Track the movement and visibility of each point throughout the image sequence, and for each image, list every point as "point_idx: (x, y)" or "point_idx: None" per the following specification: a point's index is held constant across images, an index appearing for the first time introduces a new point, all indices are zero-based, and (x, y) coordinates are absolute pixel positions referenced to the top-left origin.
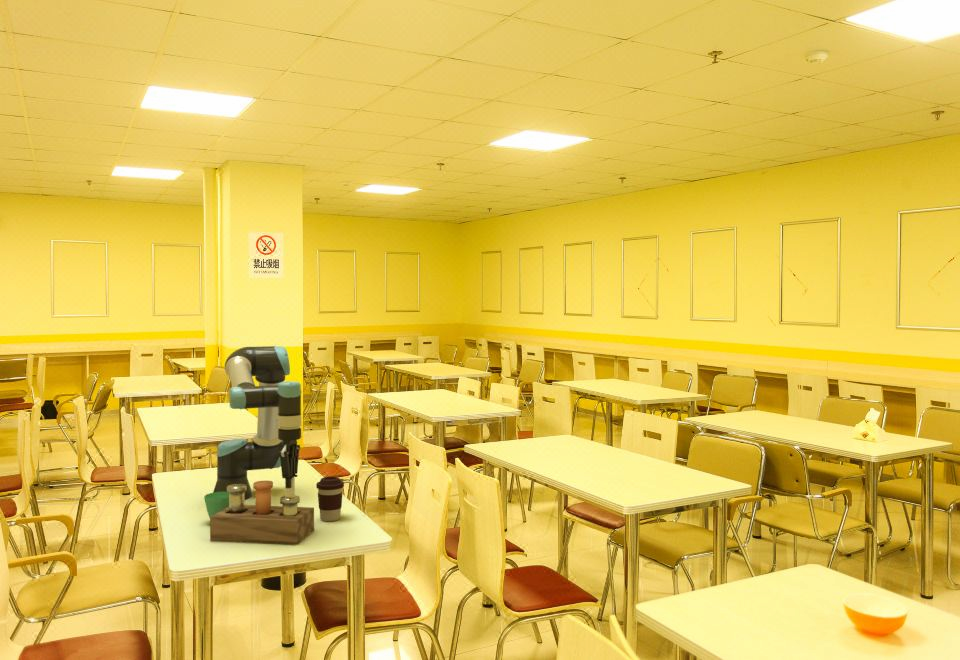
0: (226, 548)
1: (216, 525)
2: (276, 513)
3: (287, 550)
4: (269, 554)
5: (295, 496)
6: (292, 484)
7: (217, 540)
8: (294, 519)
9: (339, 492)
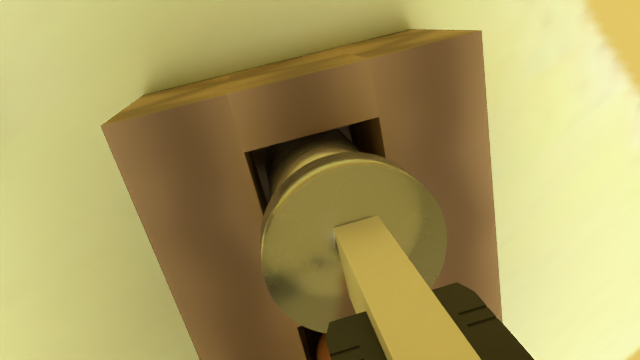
0: (520, 286)
1: None
2: None
3: (494, 24)
4: (559, 73)
5: (302, 235)
6: (439, 302)
7: None
8: (454, 67)
9: None
